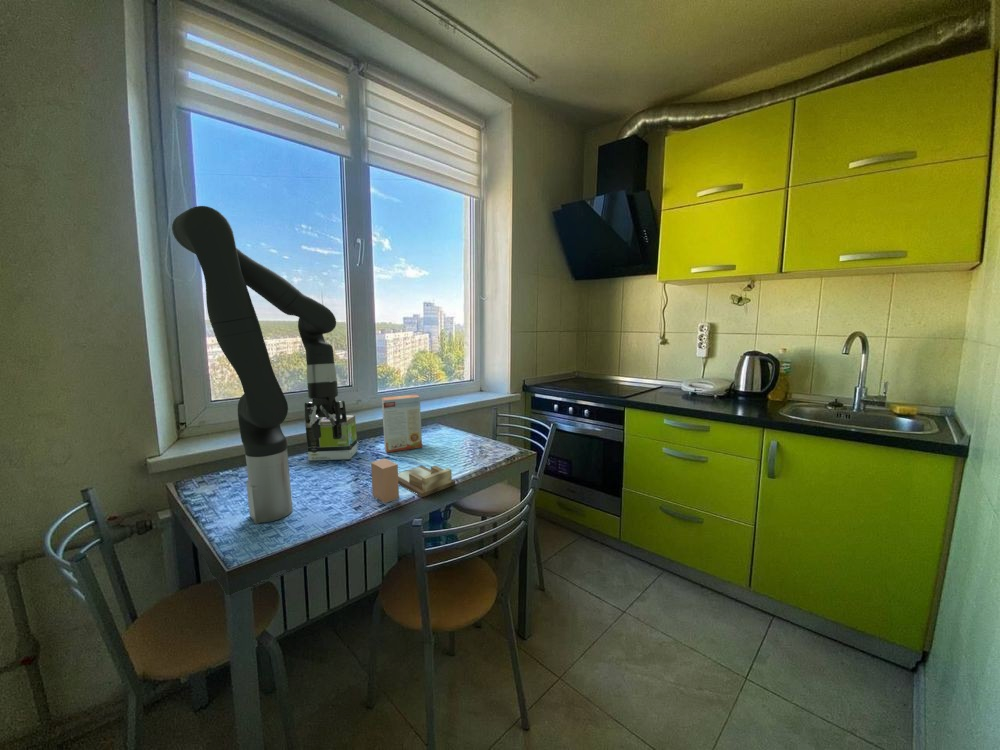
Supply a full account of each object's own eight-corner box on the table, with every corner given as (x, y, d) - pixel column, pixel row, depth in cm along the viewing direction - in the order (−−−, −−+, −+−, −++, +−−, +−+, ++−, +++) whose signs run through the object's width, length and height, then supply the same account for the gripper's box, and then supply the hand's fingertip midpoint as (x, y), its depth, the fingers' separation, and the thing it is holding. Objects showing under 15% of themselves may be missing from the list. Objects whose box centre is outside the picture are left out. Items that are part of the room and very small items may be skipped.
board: (422, 497, 110) (421, 480, 109) (390, 479, 123) (389, 463, 122) (455, 484, 118) (454, 468, 118) (422, 469, 131) (421, 454, 130)
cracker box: (419, 443, 158) (417, 393, 155) (422, 448, 153) (420, 396, 150) (383, 448, 153) (381, 396, 150) (386, 453, 147) (383, 399, 144)
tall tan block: (384, 503, 107) (382, 468, 105) (372, 495, 112) (370, 462, 110) (399, 497, 110) (397, 464, 108) (386, 490, 115) (385, 458, 113)
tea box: (358, 451, 150) (355, 414, 148) (349, 460, 140) (347, 420, 138) (318, 452, 149) (315, 414, 147) (307, 461, 139) (304, 421, 137)
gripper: (293, 383, 107) (298, 440, 107) (327, 380, 100) (333, 441, 101) (317, 381, 114) (322, 435, 114) (350, 378, 107) (355, 436, 107)
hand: (327, 438), depth 107 cm, fingers open, 8 cm apart
